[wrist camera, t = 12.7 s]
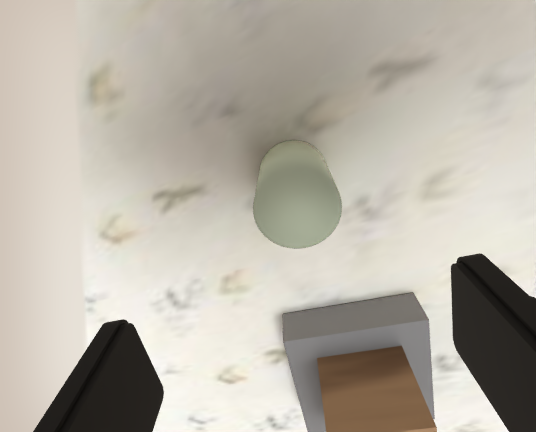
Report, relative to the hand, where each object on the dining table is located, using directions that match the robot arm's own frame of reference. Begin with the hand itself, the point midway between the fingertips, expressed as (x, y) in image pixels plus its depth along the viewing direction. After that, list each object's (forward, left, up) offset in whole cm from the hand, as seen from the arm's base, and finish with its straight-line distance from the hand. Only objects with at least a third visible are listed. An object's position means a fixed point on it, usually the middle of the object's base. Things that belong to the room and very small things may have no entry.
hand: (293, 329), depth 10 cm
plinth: (+16, +3, -14) cm, 21 cm away
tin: (0, +1, -14) cm, 14 cm away
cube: (+16, +3, -11) cm, 19 cm away
